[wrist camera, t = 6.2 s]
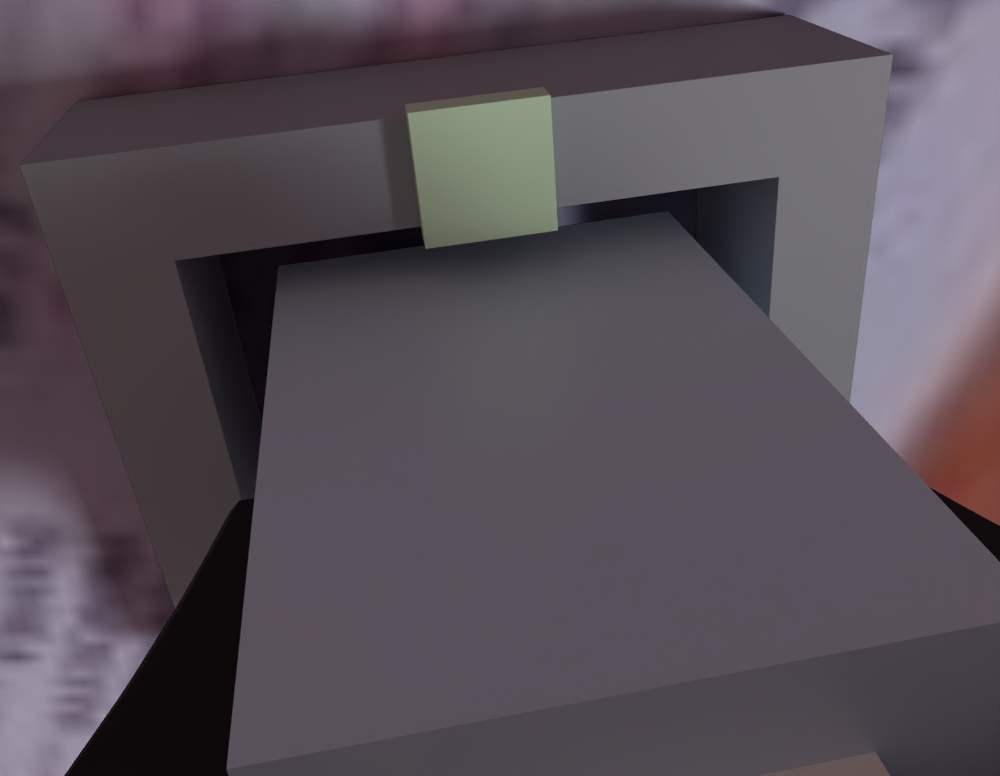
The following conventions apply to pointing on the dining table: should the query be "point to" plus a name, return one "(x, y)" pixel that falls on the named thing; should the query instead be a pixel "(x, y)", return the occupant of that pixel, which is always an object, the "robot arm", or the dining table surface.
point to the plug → (590, 533)
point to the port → (439, 206)
